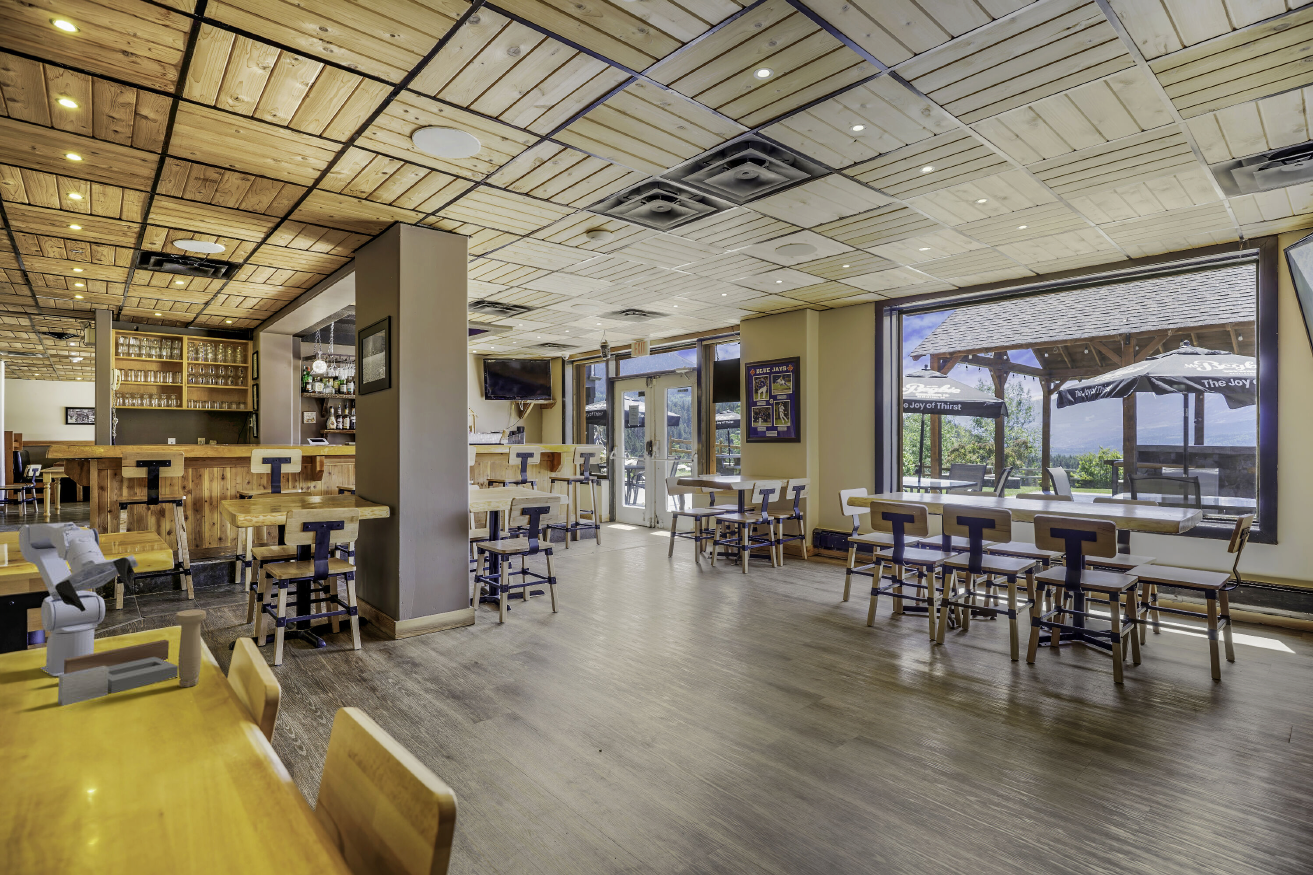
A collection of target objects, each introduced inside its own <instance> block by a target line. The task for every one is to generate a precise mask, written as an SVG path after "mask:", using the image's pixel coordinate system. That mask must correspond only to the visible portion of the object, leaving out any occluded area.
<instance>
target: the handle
mask: <svg viewBox="0 0 1313 875" xmlns="http://www.w3.org/2000/svg"><path fill="white" fill-rule="evenodd" d="M175 615H176V617H175V620H176V622H177V623H178V624H180V626H181V627H180V628H181V629H180V640H179V651H178V662H177V663H178V664H177V666H178V678H179V679H180V680H179V681H178V682H179V687H180V688H189V687H194V686H196V685H197V684H199V680H200V672H201V668H202V666H201V665H202V664H201V663H202V641H201V640H202V638H201V624H202V623H201V622H202V621H204V620H206V618H207V611H206V610H204V609H187V610H181V611H178V612H176V614H175Z"/></svg>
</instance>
